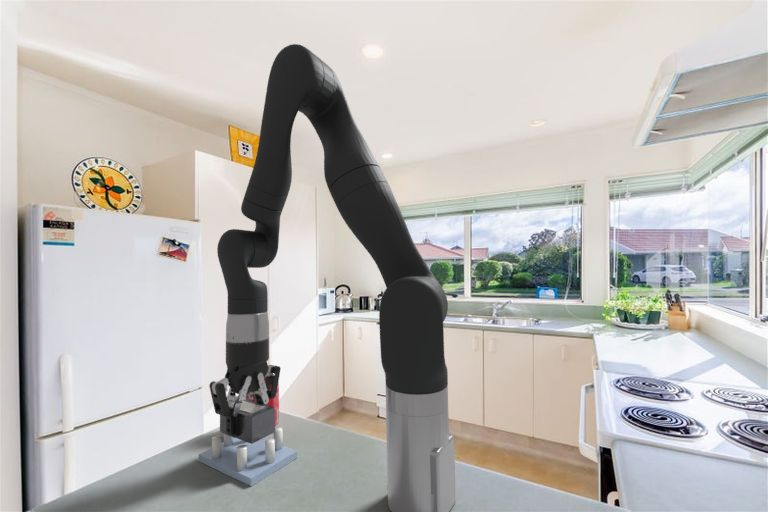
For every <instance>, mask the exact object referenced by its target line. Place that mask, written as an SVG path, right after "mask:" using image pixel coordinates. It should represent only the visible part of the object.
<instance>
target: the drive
mask: <svg viewBox="0 0 768 512" xmlns="http://www.w3.org/2000/svg"><path fill="white" fill-rule="evenodd" d="M238 415H239V436H237V437H235V438H237V439H240V440H243V441H245V442H248V443H251V444H253V443H255V442H257V441H259V440H261V439H265V438H266V437H269V436H271V435H272V434H274V432H275V428H276V426H275V407H272V406H268V405H264V404H261V403H257V402H253V401H249V400H246V399H245V400H244V402H243V403H242V404H241V407H240V411H239V414H238ZM219 433H221V434H223V435H224V434H226V435H229V434H227V432H226V417H225V416H222V415H219Z"/></svg>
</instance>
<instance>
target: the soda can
mask: <svg viewBox="0 0 768 512" xmlns="http://www.w3.org/2000/svg"><path fill="white" fill-rule="evenodd" d="M265 380H266V376H265V378H264V381H265ZM279 381H280V380H279ZM279 381H278V387H277V393H276V396H275V398H271V399H270V400H269V402H268V403H267V405H268V406H272V407H275V427H277V425H278V424H279V418H280V417H279V416H280V383H279ZM270 391H271V387H270ZM245 399H246V400H249V401H253V402H256V400H255V397H254V394H253V393H252V392H250V393H248V394H246V397H245Z"/></svg>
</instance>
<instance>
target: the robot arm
mask: <svg viewBox="0 0 768 512" xmlns="http://www.w3.org/2000/svg"><path fill="white" fill-rule="evenodd" d="M263 105H264V106H263V112H262V117H261V118H262V119H261V125H260V132H259V140H258V145H257V150H256V157H255V161H254V164H253V168H252V171H251V175H250V178H249V180H248V184H247V187H246V189H245V192H244V195H243V198H242V201H241V207H240V209H241V210H240V211H241V213H242V215H243V216H244V217H245V218H246V219H248V220H251V221H253V222H255V229H254V230H247V229H246V230H245V229H239V228H238V229H236V228H232V229H228V230H227V231H225V232H223V233H222V235H221V236H220V237H219V240H218V243H217V250H216V251H217V253H216V254H217V258H218V262H219V266H220V268H221V272H222V275H223V276H222V277H223V279H224V283H225V287H226V291H227V314H226V315H227V319H226V325H225V364H226V368H227V369H226V372H225V375H224V378H222V379H219V380H217V381H211V382H210V383H209V386H208V387H209V391H210V395H211V400H212V404H213V408H214V409H213V410H214V412H215V414H217V415H219V416H220V415H222V416H225V417H226V432H227V434H229V436H231V437H233V438H235V437H237V436H239V415H238V414H239V411H240V407H241V404H242V403H243V402H244V400H245V397H246V394H248V393H250V392H252V393H253V394H254V397H255V400H256V402H257V403H261V404H264V405H267V403H268V402H269V400H270V399H271V398H275V396H276V393H277V387H278V381H280V375H281V374H280V373H281V367H280V366H278V365H274V364H268V361H269V360H270V321H269V313H268V309H269V307H268V306H269V300H268V298H269V297H268V295H269V294H268V286H267V284H266V283H265V282H263V281H261V280H257V279H254V278H252V276H251V274H250V271H249V268H256V269H258V268H259V269H260V268H266V267H268V266H269V265H271V263H273V261H274V260H275V259H276V256H277V254H278V250H279V239H280V228H281V227H280V226H281V224H280V223H281V215H282V212H283V209H284V208H285V204H286V203H287V202H286V201H287V199H288V197H289V193H290V190H291V185H292V179H293V178H292V177H293V170H292V169H293V168H292V166H293V165H292V151H291V149H292V148H291V145H292V144H291V142H292V141H291V139H292V131H293V126H294V122H295V120H296V117H297V115H298V112H300V113H301V114H303V115H304V116H305V117H306V118H307V119H308V120H309V122H310V124H311V125H312V127H313V128H314V130H315V132H316V134H317V136H318V139H319V141H320V142H321V145H322V148H323V156H324V157H323V170H324V172H323V173H324V180H325V183H326V186H327V189H328V191H329V193H330V196H331V197H332V200H333V202H334V204H335V207H336V208H337V210H338V213H339V214H340V216H341V217H342V219H343V221H344V223H345V224H346V225H347V227H348V228H349V230H350V231H351V232H352V234H353V235H354V236H355V238H356V239H357V240H358V241H359V243H360V244H361V245H362V246H363V248H364V249H365V250H366V251H367V253H368V254H369V255H370V257H371V258H372V260H373V261H374V263H375V265H376V267H377V269H378V270H379V272H380V275H381V277H382V279H383V282H384V284H385V287H386V288H385V290H384V292H383V294H382V297H381V300H380V302H379V314H378V317H379V321H378V324H379V345H380V359H381V361H380V362H381V365H382V369H383V372H384V376H385V414H386V415H385V423H386V429H385V430H386V431H385V433H386V470H387V471H386V476H387V477H386V478H387V480H386V481H387V484H386V485H387V486H386V487H387V489H386V490H387V505H388V509H389V511H390V512H391V511H392V512H451V510H452V508H453V507H454V505H455V504H456V501H457V495H456V490H457V489H456V464H455V463H456V460H455V459H456V458H455V457H456V456H455V454H456V451H455V437H454V435H453V434H450V428H449V427H450V424H449V389H448V388H449V387H448V385H449V382H448V381H449V377H448V367H447V364H446V359H445V342H444V340H445V339H444V338H445V336H444V321H445V320H446V318H447V315H448V312H449V311H448V310H449V307H448V306H449V303H448V297H447V295H446V293H445V290H444V288H443V287H442V286H441V284H440V283H439V281H438V279H437V278H436V277H435V275H434V274H433V272H432V271H431V269H430V268H429V266H428V264H427V262H426V261H425V258H423V256H422V254H421V252H420V251H419V250H418V248H417V246H416V243H415V242H414V240H413V238H412V235H411V233H410V230H409V228H408V225H407V224H406V221H405V218H404V215H403V214H402V211H401V209H400V207H399V204H398V202H397V200H396V198H395V195H394V193H393V191H392V189H391V186H390V184H389V183H388V181H387V179H386V176H385V174H384V172H383V170H382V168H381V167H380V164H379V163H378V161H377V159H376V157H375V156H374V155H373V152H372V150H371V149H370V146H369V144H368V142H367V141H366V139H365V137H364V136H363V134H362V132H361V130H360V129H359V127H358V125H357V123H356V121H355V119H354V116H353V114H352V111H351V108H350V105H349V104H348V100H347V97H346V95H345V92H344V90H343V86H342V84H341V82H340V79H339V78H338V76H337V74H336V72H335V71H334V70H333V68H332V67H330V66H329V65H328V64H327V63H326V62H325V61H323V60H322V59H321V58H320V57H319V56H318V55H316V54H315V53H314V52H312V51H311V50H310V49H309V48H308V47H306V46H304V45H301V44H298V43H297V44H296V43H294V44H293V43H292V44H289V45H287V46H284V47H283V48H282V49H281V50H280V51H279V52H278V53H277V55H276V56H275V58H274V59H273V62H272V66H271V68H270V71H269V75H268V81H267V87H266V93H265V99H264V104H263ZM265 376H266V380H265V381H264V378H265ZM228 386H229V389H228ZM270 387H271V391H270ZM227 392H228V393H227ZM236 394H237V395H236Z"/></svg>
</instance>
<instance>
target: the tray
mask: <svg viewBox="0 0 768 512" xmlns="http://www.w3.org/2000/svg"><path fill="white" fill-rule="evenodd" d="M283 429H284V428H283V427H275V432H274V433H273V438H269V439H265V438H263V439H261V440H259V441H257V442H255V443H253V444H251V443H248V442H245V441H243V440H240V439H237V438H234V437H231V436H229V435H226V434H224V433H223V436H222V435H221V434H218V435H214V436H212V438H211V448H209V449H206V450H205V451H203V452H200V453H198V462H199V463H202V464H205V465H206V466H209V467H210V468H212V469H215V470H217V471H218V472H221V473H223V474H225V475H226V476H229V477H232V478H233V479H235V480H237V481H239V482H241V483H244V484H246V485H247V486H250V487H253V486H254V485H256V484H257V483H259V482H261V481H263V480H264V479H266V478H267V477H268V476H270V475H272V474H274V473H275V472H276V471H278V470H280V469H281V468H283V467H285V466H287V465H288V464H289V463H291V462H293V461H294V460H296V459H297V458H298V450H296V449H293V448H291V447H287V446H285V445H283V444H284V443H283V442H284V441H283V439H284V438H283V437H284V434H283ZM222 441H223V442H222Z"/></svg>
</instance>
